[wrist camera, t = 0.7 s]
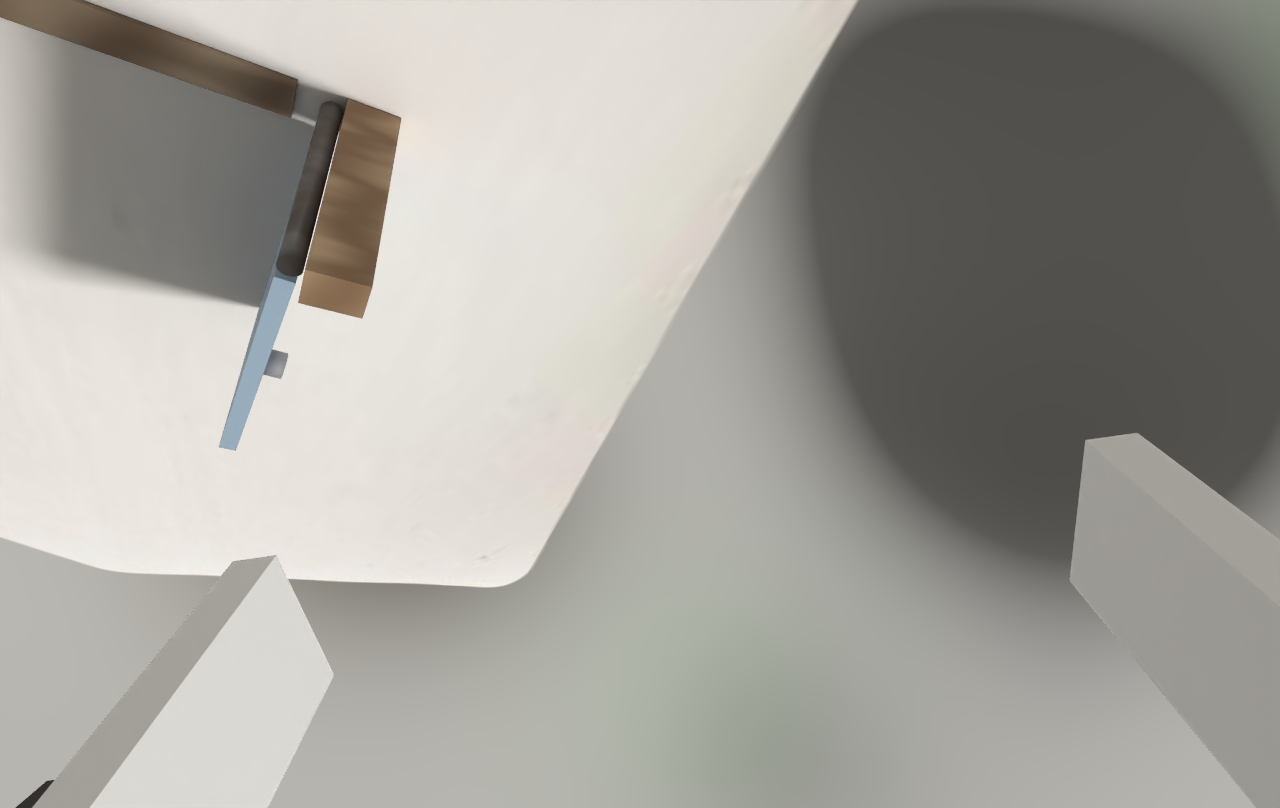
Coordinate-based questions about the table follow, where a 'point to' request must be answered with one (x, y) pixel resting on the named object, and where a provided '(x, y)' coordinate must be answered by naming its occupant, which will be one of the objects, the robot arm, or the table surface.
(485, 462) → the table surface
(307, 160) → the door frame
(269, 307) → the door
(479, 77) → the table surface
